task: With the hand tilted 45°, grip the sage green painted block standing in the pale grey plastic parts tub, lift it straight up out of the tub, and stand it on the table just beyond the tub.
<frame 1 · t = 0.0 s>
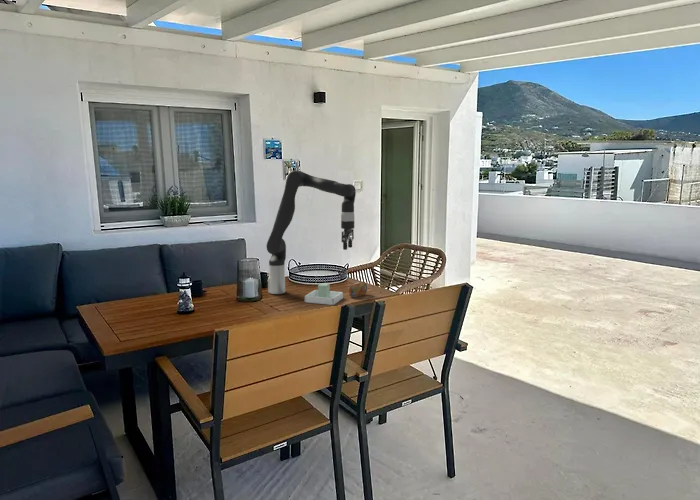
hand: (347, 248, 273), 29 cm above the table, tool pointing down, fingers open, 8 cm apart
parts tub: (324, 300, 272), on the table
green block: (323, 292, 271), in the parts tub
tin: (357, 296, 282), on the table
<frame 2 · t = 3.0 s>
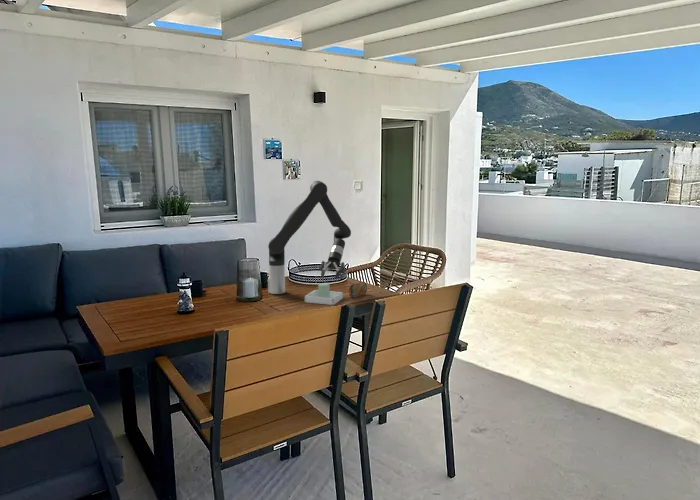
hand: (329, 277, 278), 12 cm above the table, tool tilted 45°, fingers open, 8 cm apart
nothing on the table moved.
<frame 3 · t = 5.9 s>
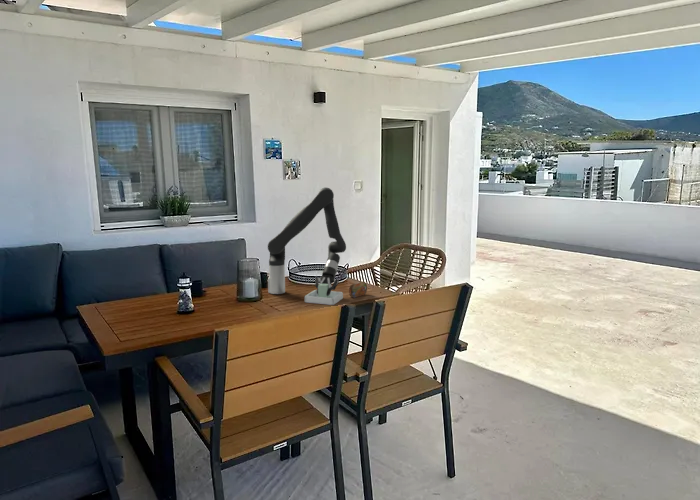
hand: (322, 294, 270), 4 cm above the table, tool tilted 45°, fingers closed on green block, 5 cm apart
green block: (323, 292, 271), in the parts tub, touching gripper
everything else where it was.
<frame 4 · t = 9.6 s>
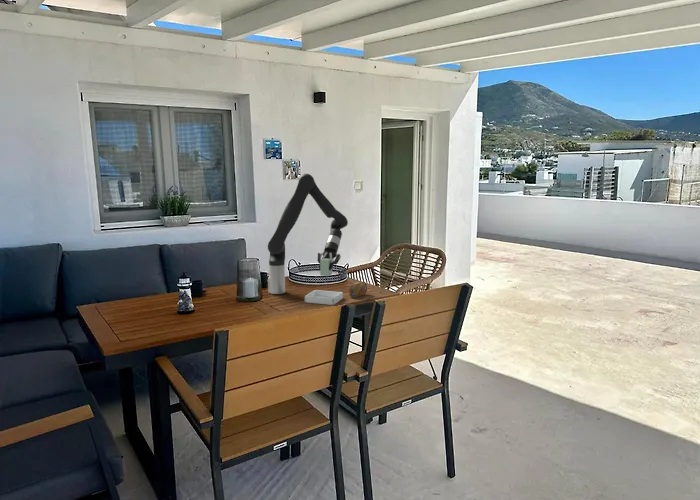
hand: (324, 269, 270), 18 cm above the table, tool tilted 45°, fingers closed on green block, 5 cm apart
green block: (326, 267, 271), point 19 cm above the table, touching gripper
everything else where it was.
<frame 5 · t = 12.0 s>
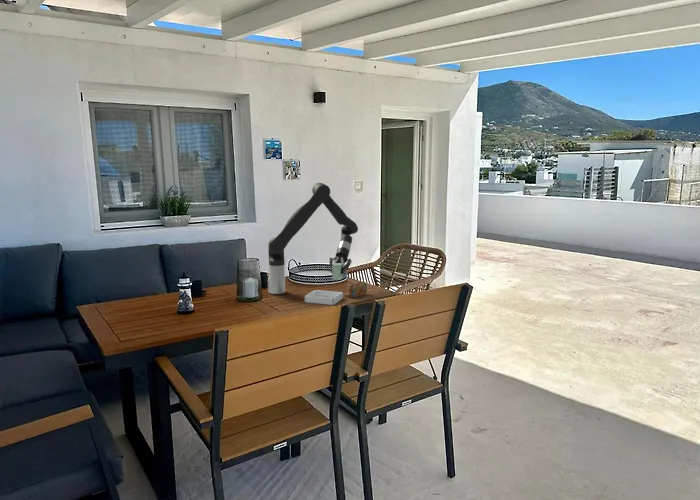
hand: (336, 273, 284), 13 cm above the table, tool tilted 45°, fingers closed on green block, 5 cm apart
green block: (337, 271, 285), point 14 cm above the table, touching gripper
everything else where it was.
when the fingers open (5 cm above the table, at t = 13.8 s): green block drops 1 cm, on the table.
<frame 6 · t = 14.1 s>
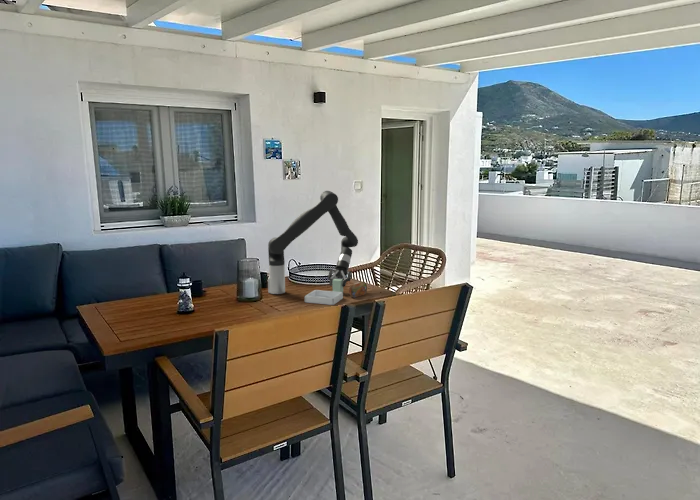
hand: (336, 285, 285), 6 cm above the table, tool tilted 45°, fingers open, 7 cm apart
green block: (337, 286, 287), on the table
everything else where it was.
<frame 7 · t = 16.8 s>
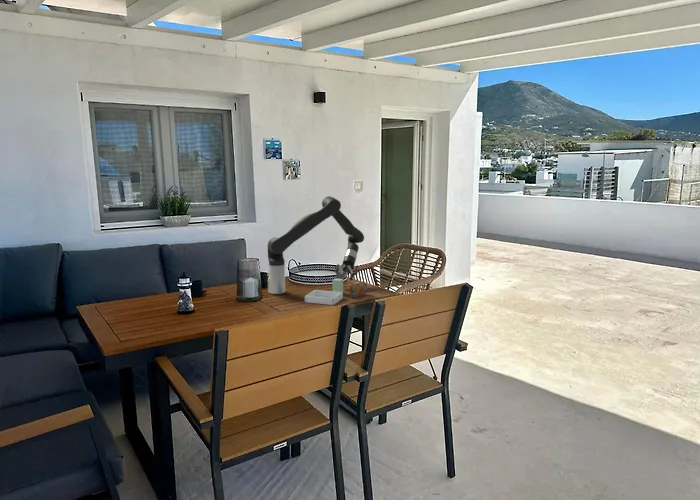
hand: (344, 279, 297), 7 cm above the table, tool tilted 45°, fingers open, 8 cm apart
nothing on the table moved.
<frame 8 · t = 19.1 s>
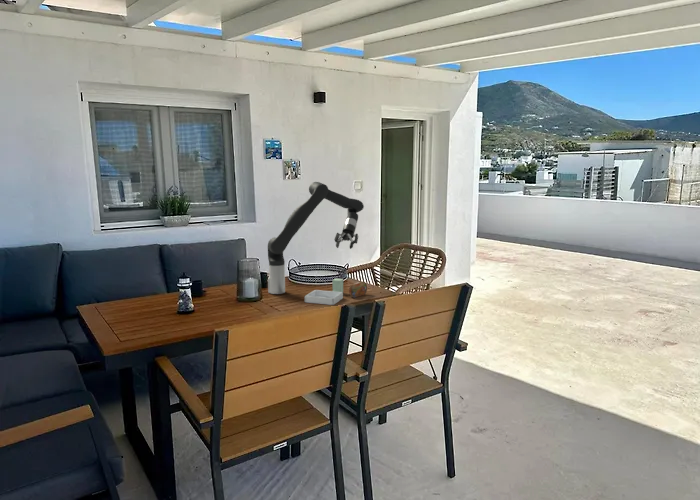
hand: (343, 247, 293), 27 cm above the table, tool tilted 45°, fingers open, 8 cm apart
nothing on the table moved.
at the end: green block inside the target area (0.1 cm from its centre), on the table; green block tilted 0°; the gripper is holding nothing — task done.
